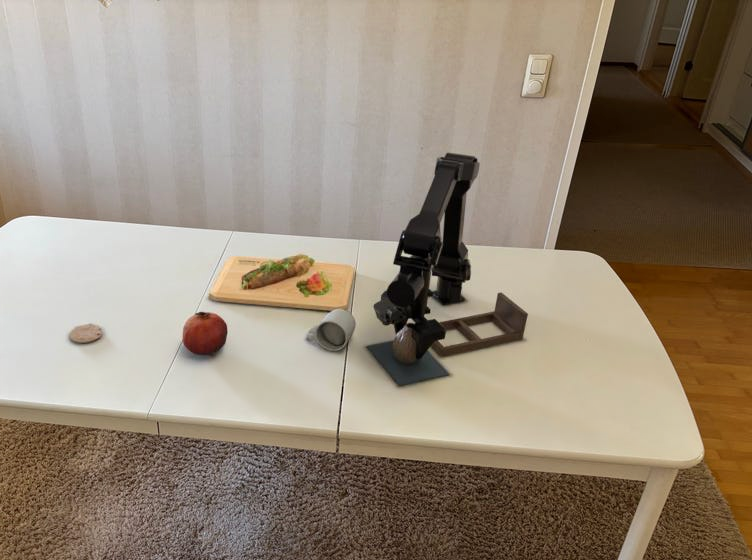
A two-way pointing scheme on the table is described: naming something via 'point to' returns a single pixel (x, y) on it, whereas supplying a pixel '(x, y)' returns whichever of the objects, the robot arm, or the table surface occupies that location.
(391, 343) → the mat
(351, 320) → the ceramic mug
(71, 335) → the flatbread
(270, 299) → the cutting board
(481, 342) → the cup stand
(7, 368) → the table surface
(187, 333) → the fruit
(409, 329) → the vase
